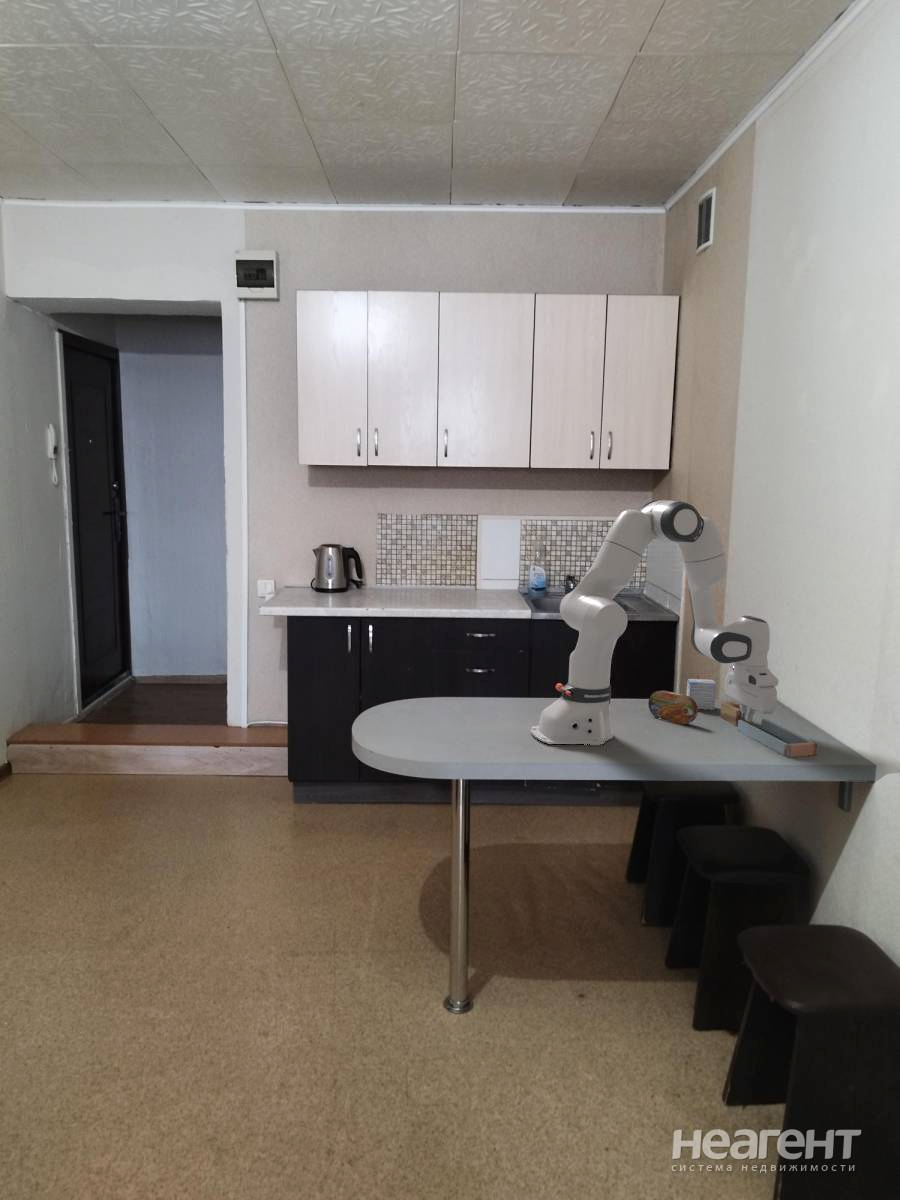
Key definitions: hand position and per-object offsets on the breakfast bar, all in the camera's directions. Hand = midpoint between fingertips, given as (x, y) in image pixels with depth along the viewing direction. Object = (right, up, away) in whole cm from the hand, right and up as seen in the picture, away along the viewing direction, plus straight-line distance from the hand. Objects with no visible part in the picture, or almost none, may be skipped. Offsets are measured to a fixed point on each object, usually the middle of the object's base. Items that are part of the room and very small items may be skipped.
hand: (746, 719), depth 232 cm
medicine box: (-8, +1, +19) cm, 20 cm away
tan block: (-1, -1, +6) cm, 6 cm away
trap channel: (+3, -4, -12) cm, 13 cm away
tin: (-20, -1, +5) cm, 21 cm away
